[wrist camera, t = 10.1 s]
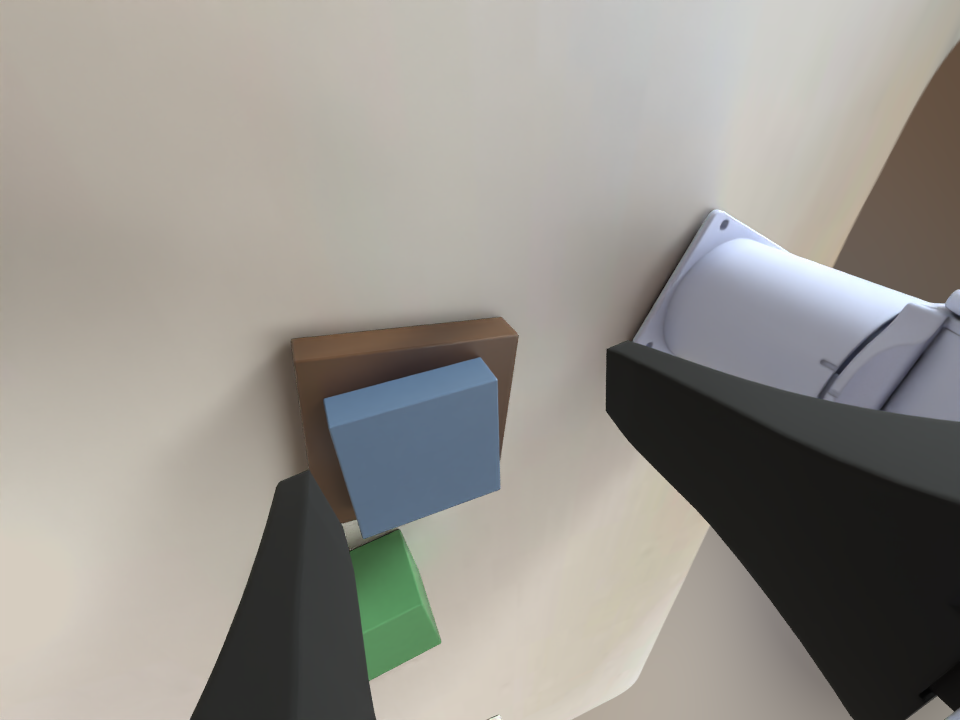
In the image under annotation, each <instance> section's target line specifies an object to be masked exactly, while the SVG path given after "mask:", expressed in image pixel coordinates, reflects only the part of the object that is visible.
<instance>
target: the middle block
mask: <svg viewBox="0 0 960 720" xmlns="http://www.w3.org/2000/svg"><path fill="white" fill-rule="evenodd" d="M323 403H324V408H325V413H326V418H327V423H328V428H329V431H330V435H331V438H332V441H333V444H334V448H335V451H336V454H337V457H338V460H339V464H340V467H341V470H342V473H343V477H344V480H345V483H346V486H347V489H348V493H349V496H350V499H351V502H352V505H353V509H354V512H355V515H356V518H357V522H358V525H359V528H360V531H361V534H362V538H363V539H366V538H368V537H371V536H374V535H376V534H379V533H382V532H385V531H387V530H390V529H393V528H396V527H398V526H401V525H404V524H407V523H409V522H412V521H415V520H418V519H420V518H423V517H426V516H429V515H431V514H434V513H437V512H440V511H442V510H445V509H448V508H451V507H453V506H456V505H459V504H461V503H464V502H467V501H470V500H472V499H475V498H478V497H481V496H483V495H486V494H489V493H492V492H494V491H497V490H500V458H499V419H498V380H497V378H496V377H495V376H494V374H493V373H492V372H491V370H490V369H489V368H488V366H487V365H486V364H485V363H484V361H483V360H482V359H481V358H480V357H479V358H475V359H471V360H467V361H463V362H460V363H456V364H452V365H448V366H445V367H441V368H437V369H433V370H430V371H426V372H422V373H418V374H415V375H411V376H407V377H403V378H400V379H396V380H392V381H388V382H385V383H381V384H377V385H373V386H369V387H366V388H362V389H358V390H354V391H351V392H347V393H343V394H339V395H336V396H332V397H328V398H325V399H323Z"/></svg>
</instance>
